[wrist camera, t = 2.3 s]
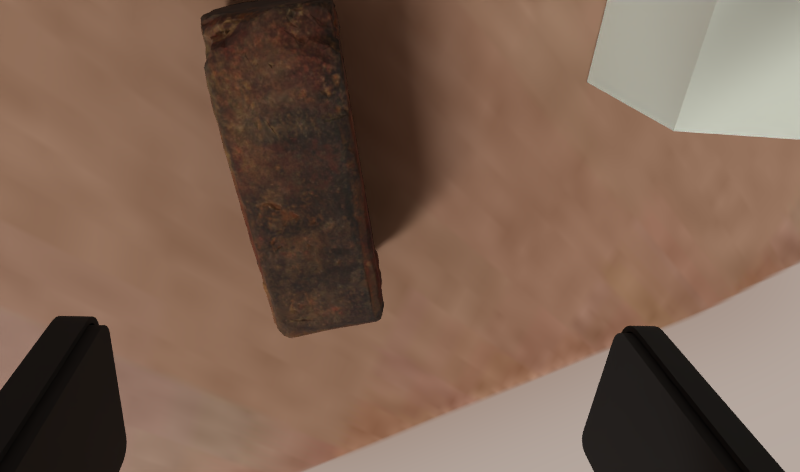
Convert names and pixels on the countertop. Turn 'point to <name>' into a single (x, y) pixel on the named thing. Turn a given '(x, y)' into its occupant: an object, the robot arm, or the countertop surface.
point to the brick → (295, 159)
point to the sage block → (704, 64)
